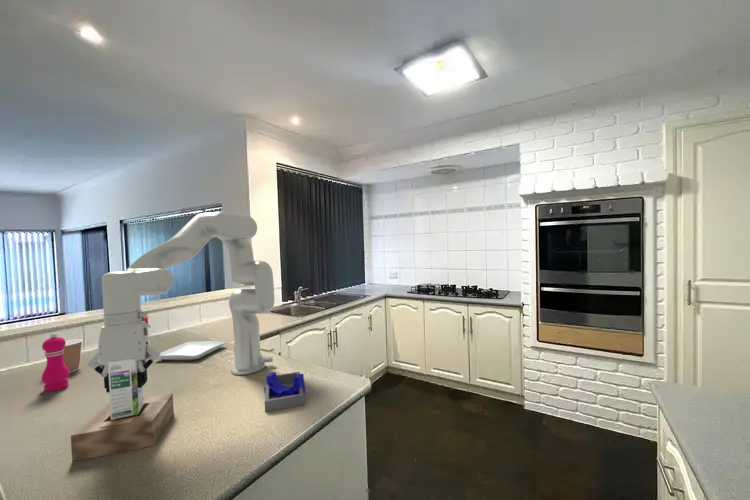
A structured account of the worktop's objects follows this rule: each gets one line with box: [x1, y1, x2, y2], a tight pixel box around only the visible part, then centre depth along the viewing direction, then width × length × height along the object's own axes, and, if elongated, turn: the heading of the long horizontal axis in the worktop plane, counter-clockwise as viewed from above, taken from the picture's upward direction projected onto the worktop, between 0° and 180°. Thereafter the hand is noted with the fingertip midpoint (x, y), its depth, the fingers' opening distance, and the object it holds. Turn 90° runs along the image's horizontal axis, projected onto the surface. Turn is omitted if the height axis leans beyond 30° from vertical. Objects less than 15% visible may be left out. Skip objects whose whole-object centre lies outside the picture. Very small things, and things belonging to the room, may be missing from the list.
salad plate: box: [157, 340, 226, 361], centre depth 148 cm, size 21×21×3 cm
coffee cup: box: [63, 338, 83, 374], centre depth 133 cm, size 10×10×12 cm
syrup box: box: [108, 359, 144, 420], centre depth 82 cm, size 6×6×14 cm
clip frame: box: [264, 371, 305, 413], centre depth 102 cm, size 11×19×3 cm, turn 17°
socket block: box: [70, 392, 175, 462], centre depth 83 cm, size 16×16×6 cm
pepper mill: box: [41, 332, 71, 392], centre depth 116 cm, size 7×7×20 cm
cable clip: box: [263, 371, 306, 398], centre depth 102 cm, size 12×4×6 cm, turn 71°
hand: (126, 387), depth 82 cm, fingers closed on syrup box, 6 cm apart
